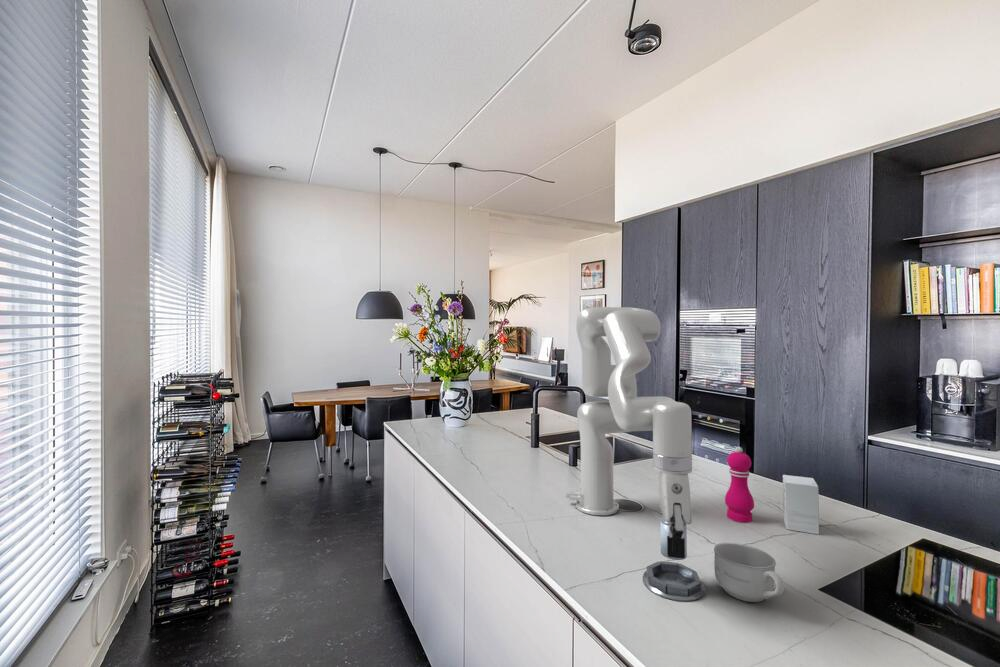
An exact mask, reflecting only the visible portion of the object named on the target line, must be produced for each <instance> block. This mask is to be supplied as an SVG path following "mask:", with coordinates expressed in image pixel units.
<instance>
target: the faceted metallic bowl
mask: <svg viewBox="0 0 1000 667" xmlns="http://www.w3.org/2000/svg"><path fill="white" fill-rule="evenodd" d="M642 582H643V584H644V586H645V587H646V589H647V590H648V591H650V592H651V593H653V594H655V595H656V596H659V597H661V598H664V599H667V600H670V601H676V602H693V601H697V600H699V599H701V598H703V596H705V593H706V587H705V584H704V582H702V580H701V579H700V576H699V574H698V572H697V571H696V570H694V569H693V568H690V567H688V566H686V565H684V564H681V563H678V562H672V561H661V560H659V561H656V562H654V563H652V564H649V565H647V566H646V570H645V571H644V572H643V574H642Z"/></svg>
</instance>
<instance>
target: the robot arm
mask: <svg viewBox="0 0 1000 667" xmlns="http://www.w3.org/2000/svg"><path fill="white" fill-rule="evenodd" d="M661 326H662V325H661V321H660V319H659V318H658V315H657V314H656V313H655V312H654V311H652V310H651V309H650V310H649V309H643V308H638V307H631V306H629V307H625V306H624V307H623V306H622V307H621V306H619V307H618V306H616V307H615V306H595V307H594V306H593V307H587V308H584V309H582V310H581V311H580V312H579V313H578V315H577V318H576V334H577V338H578V341H579V345H580V349H581V384H582V389H583V392H584V394H585V395H586V396H588V397H592V398H608V400H599V401H598V400H597V401H595V400H594V401H587V402H585V403H584V402H583V403H582V404H581V405H580V406H579V407H578V409H577V412H576V414H577V415H576V417H577V418H576V419H577V424H578V430H579V440H580V441H579V442H580V488H579V490H576V491H571V490H566V491H565V497H566V498H569V501H575V508H577V509H578V511H580V512H582V513H584V514H588V515H592V516H610V515H614V514H617V513H618V511H619V510H620V504H619V503H618V502H617V501H616V500H615V499H614V494H615V493H614V489H615V488H614V448H613V446H612V444H611V442H610V441H609V439H607V437H606V436H605V435H609V434H623V433H630V432H646V431H647V432H648V431H651V432H652V461H653V462H652V464H653V466H652V467H653V469H654V470H655V471H657V472H658V498H659V508H660V510H661V512H662V516H664V518H665V520H666V521H667V522H668V531H669V536H667V554H668V556H669V557H674V558H684V557H685V538H684V526H683V519H684V520H685V522H686V525H688V526H689V525H691V524H692V506H691V504H692V503H691V501H692V500H691V490H690V489H691V488H690V479H689V474H691V473H692V472H693V455H692V454H693V451H692V450H693V446H692V444H693V439H692V438H693V436H692V435H693V433H692V431H693V430H692V426H693V425H692V424H693V423H692V409H691V407H690V405H689V404H687V403H685V402H682V401H681V402H680V401H676V400H675V399H673V398H672V397H669V396H664V395H663V396H660V395H659V396H638V386H637V378H636V374H639V373H640V372H642V371H644V370H645V369H646V368H647V367H648V366H649V365H650V363H651V360H652V356H651V353H650V350H649V347H648V346H647V342H648V343H650V342H655V341H656V340H657V339H658V338H659V337H660V334H661V331H662V330H661V329H662V328H661ZM603 337H606V339H607V341H606V339H605V338H603ZM612 357H613V359H614V362H615V364H612ZM671 518H674V520H675V521H671ZM672 525H675V528H673V529H672Z"/></svg>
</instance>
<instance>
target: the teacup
mask: <svg viewBox="0 0 1000 667" xmlns="http://www.w3.org/2000/svg"><path fill="white" fill-rule="evenodd" d="M713 550H714V551H713V552H714V559H713V560H714V562H713V563H714V564H713V565H714V576H715V579H716V581H717V583H718V585H719V586H720V587H722V589H724V591H725V592H726V593H727V594H728V595H730V596H731V597H734V598H735V599H738V600H741V601H743V602H748V603H749V602H750V603H758V602H761V601H763V600H769V599H770V598H774V597H778V596H781V595H782V594H783V593H784V591H785V584H784V583H785V582H784V581H783V579H782V577H781V576H780V575H779V574H778V573H777V572H776V566H777V562H776V560H775V558H774V557H773V556H772V555H770V554H769V553H767V552H766V551H764V550H762V549H760V548H757V547H753V546H750V545H747V544H742V543H737V542H721V543H718V544H716V545H714V548H713ZM774 588H775V589H774Z"/></svg>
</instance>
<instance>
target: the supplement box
mask: <svg viewBox="0 0 1000 667" xmlns="http://www.w3.org/2000/svg"><path fill="white" fill-rule="evenodd" d="M819 495H820V494H819V485H818V484H817V482H816V481H815V479H814V478H813V477H806V476H797V475H789V474H788V475H787V474H782V508H783V509H782V519H783V521H784V525H785V529H786V530H788V531H795V532H801V533H808V534H815V535H820V516H819V515H820V513H819V512H820V511H819V510H820V508H819V507H820V506H819V500H820V499H819V497H820V496H819Z"/></svg>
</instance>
